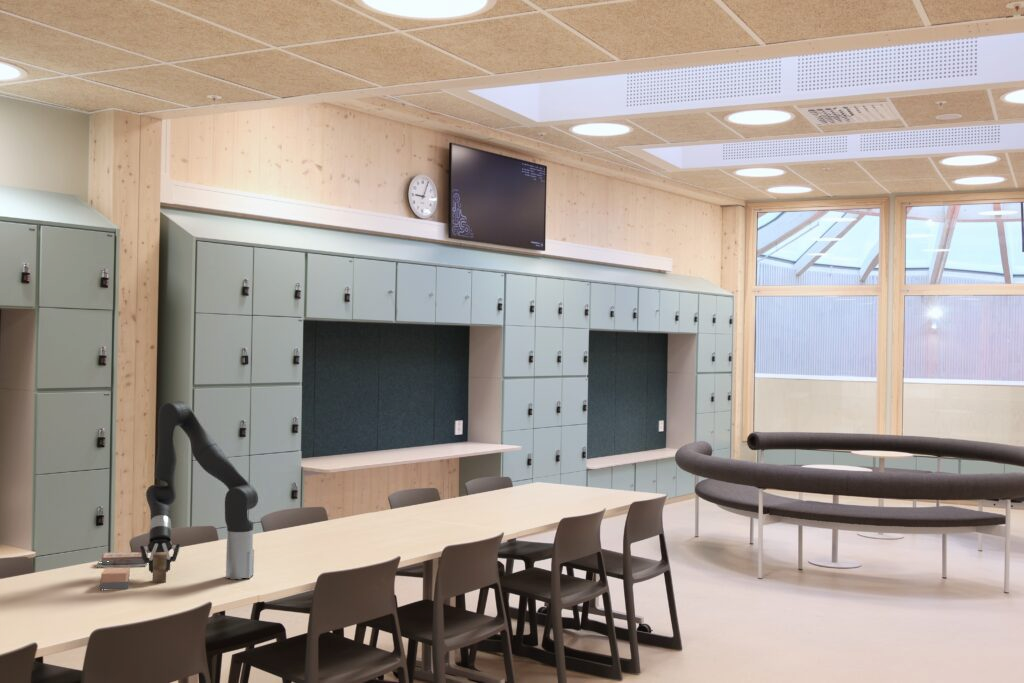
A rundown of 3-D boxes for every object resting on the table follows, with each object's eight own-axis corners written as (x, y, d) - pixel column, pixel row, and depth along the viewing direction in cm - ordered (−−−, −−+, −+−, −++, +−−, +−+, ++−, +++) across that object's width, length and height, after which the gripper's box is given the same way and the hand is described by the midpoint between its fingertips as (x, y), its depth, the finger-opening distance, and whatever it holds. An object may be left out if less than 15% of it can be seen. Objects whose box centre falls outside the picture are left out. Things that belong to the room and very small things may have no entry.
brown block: (165, 579, 350) (166, 551, 350) (165, 582, 345) (166, 554, 346) (152, 580, 348) (153, 552, 348) (152, 583, 344) (153, 554, 344)
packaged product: (149, 550, 379) (145, 555, 369) (149, 562, 379) (145, 568, 369) (100, 550, 375) (95, 556, 365) (100, 563, 375) (94, 569, 365)
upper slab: (129, 576, 343) (129, 568, 343) (125, 582, 335) (126, 573, 335) (105, 577, 341) (105, 568, 341) (101, 582, 333) (101, 573, 333)
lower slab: (128, 584, 344) (129, 576, 344) (128, 590, 335) (128, 581, 335) (101, 586, 340) (101, 577, 341) (99, 592, 332) (100, 583, 332)
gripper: (139, 525, 352) (138, 566, 340) (181, 524, 356) (181, 564, 345) (139, 537, 356) (137, 578, 345) (180, 536, 361) (180, 575, 350)
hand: (159, 570), depth 345 cm, fingers closed on brown block, 4 cm apart
